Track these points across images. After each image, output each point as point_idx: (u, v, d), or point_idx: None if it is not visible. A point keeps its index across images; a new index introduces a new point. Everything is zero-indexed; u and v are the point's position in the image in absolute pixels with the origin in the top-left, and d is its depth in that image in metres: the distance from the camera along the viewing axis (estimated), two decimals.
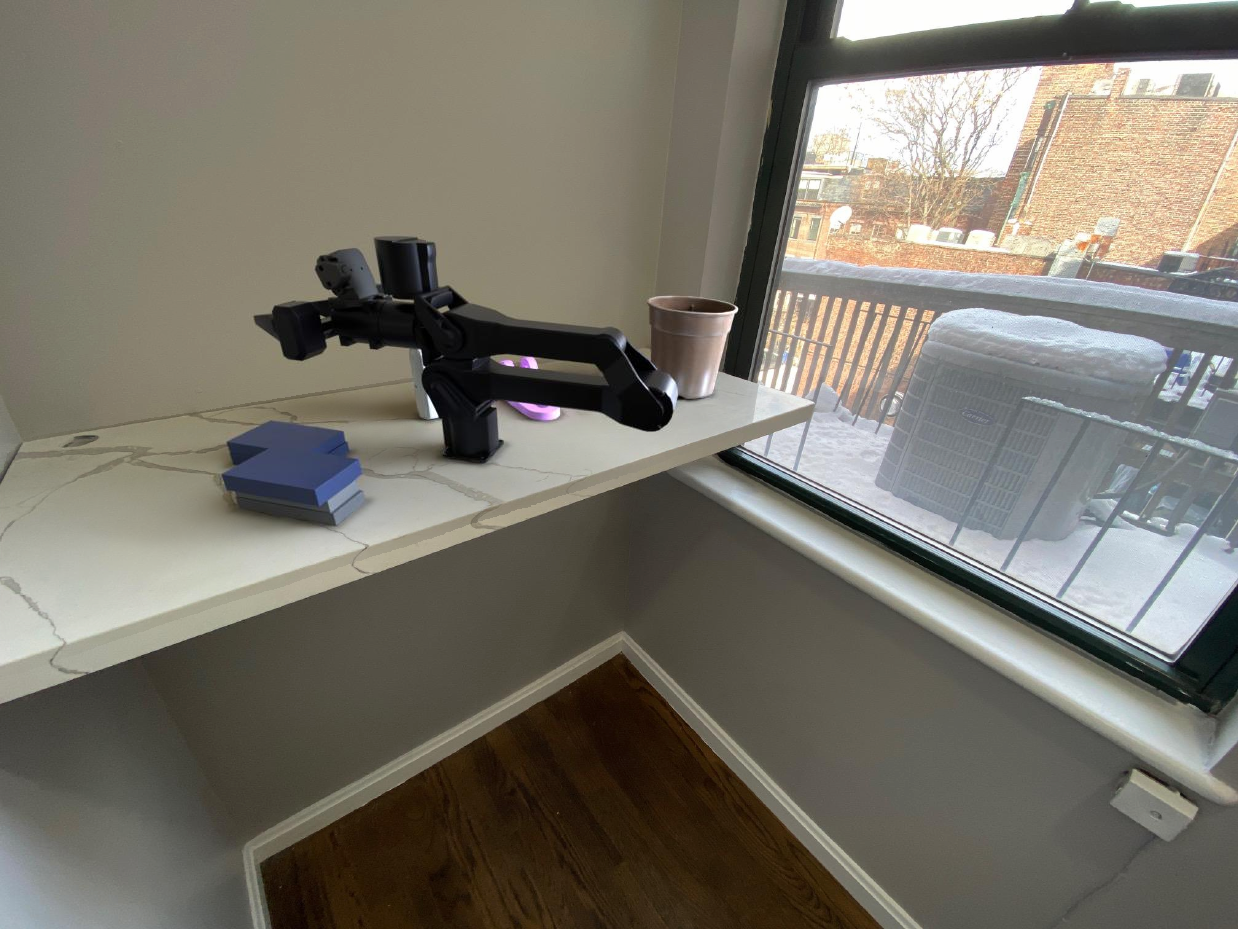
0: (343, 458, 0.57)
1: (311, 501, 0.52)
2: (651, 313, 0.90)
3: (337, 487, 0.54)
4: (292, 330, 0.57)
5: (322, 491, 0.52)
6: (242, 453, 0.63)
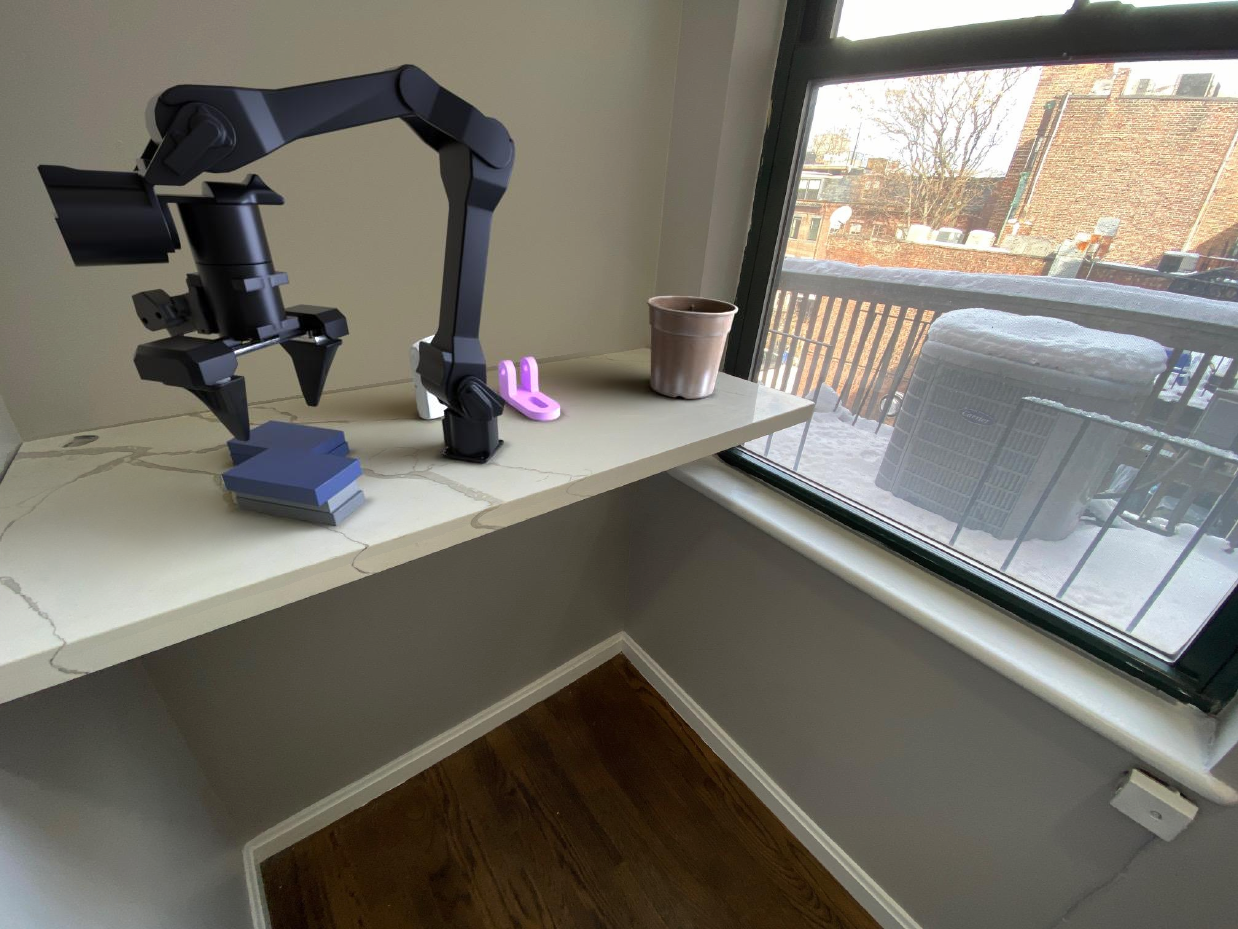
0: (343, 458, 0.57)
1: (311, 501, 0.52)
2: (651, 313, 0.90)
3: (337, 487, 0.54)
4: (151, 357, 0.40)
5: (322, 491, 0.52)
6: (242, 453, 0.63)
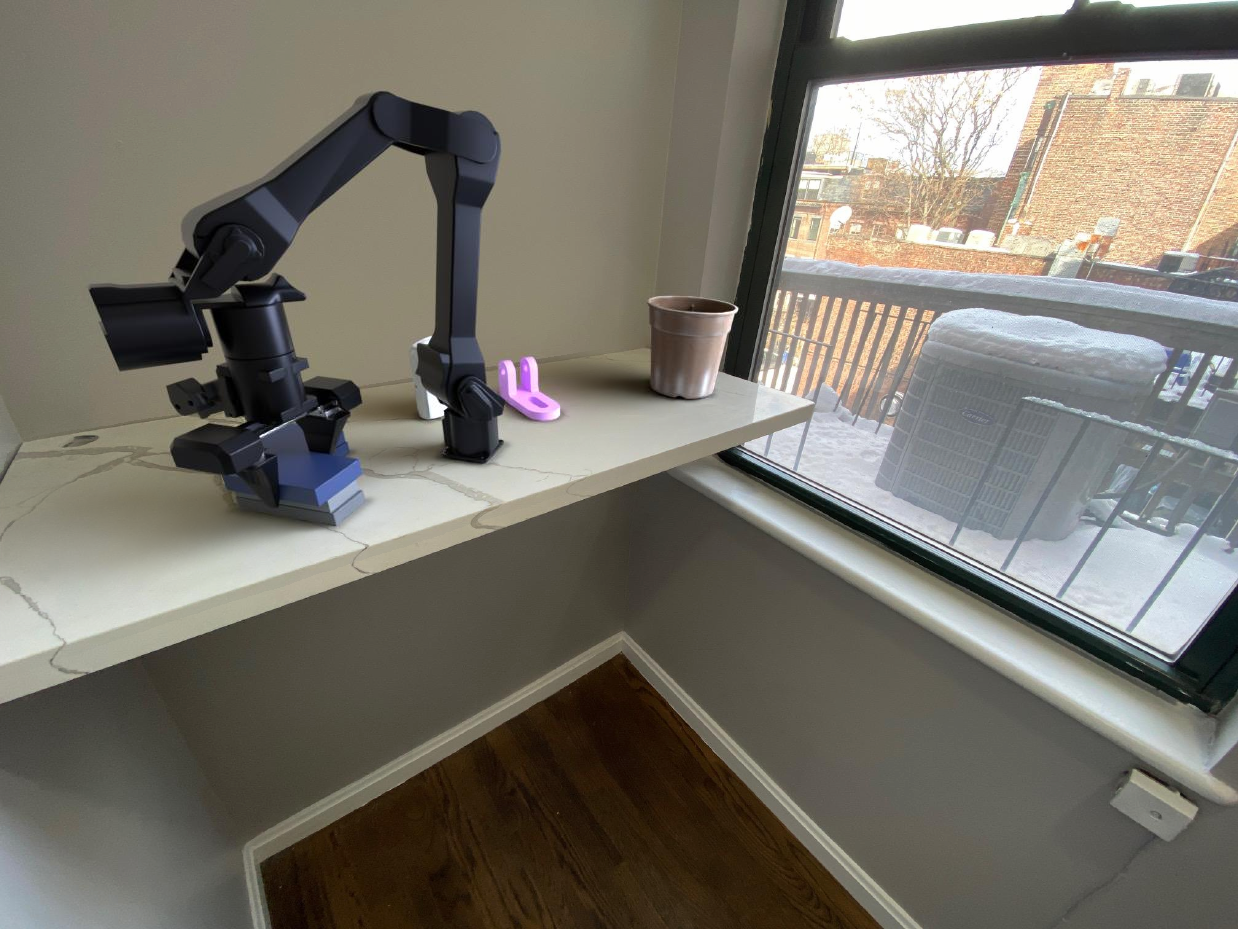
0: (343, 458, 0.57)
1: (311, 501, 0.52)
2: (651, 313, 0.90)
3: (337, 487, 0.54)
4: (187, 449, 0.44)
5: (322, 491, 0.52)
6: None
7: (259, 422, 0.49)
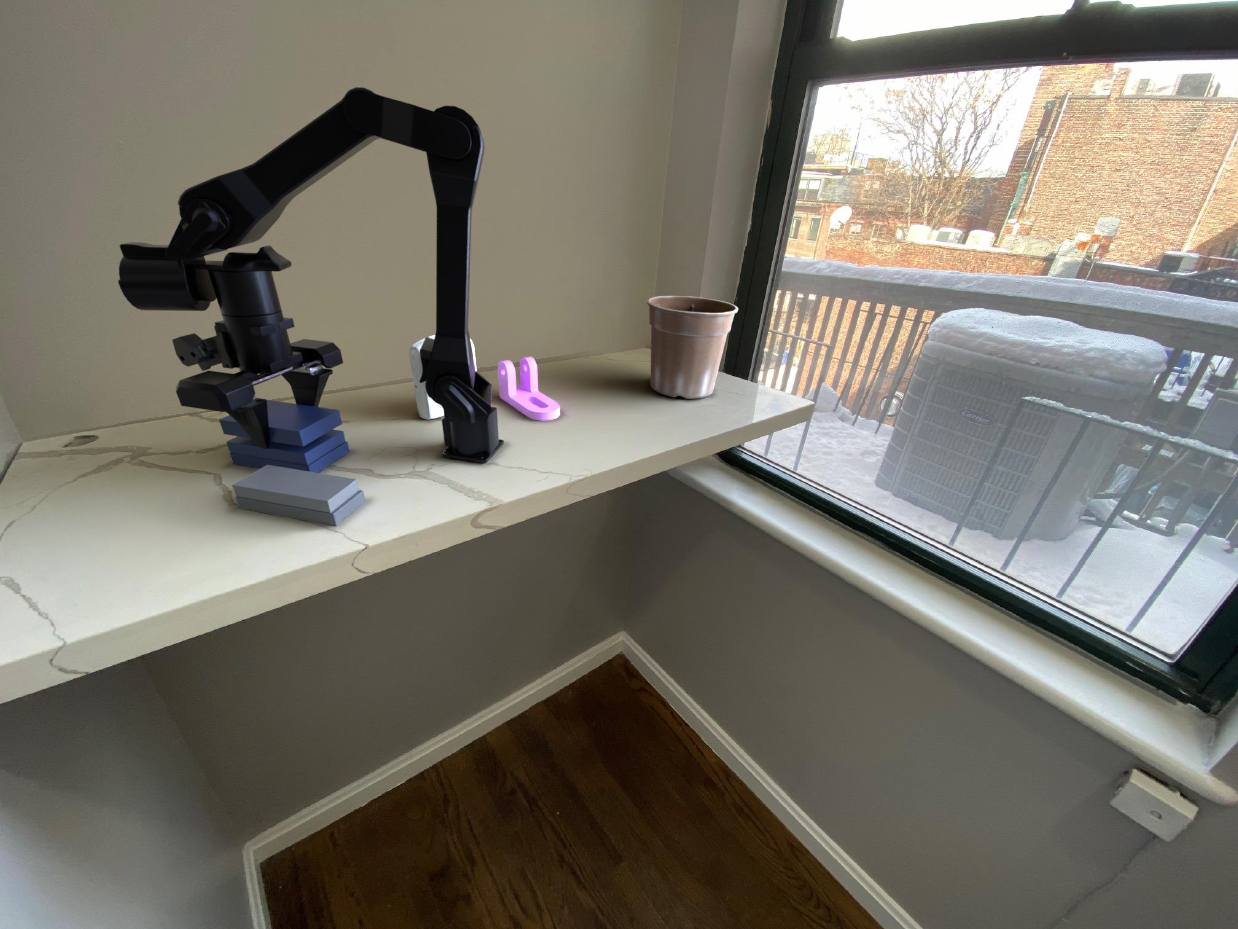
0: (325, 409, 0.66)
1: (296, 442, 0.60)
2: (651, 313, 0.90)
3: (319, 432, 0.63)
4: (190, 389, 0.52)
5: (305, 433, 0.61)
6: (242, 453, 0.63)
7: (251, 372, 0.58)
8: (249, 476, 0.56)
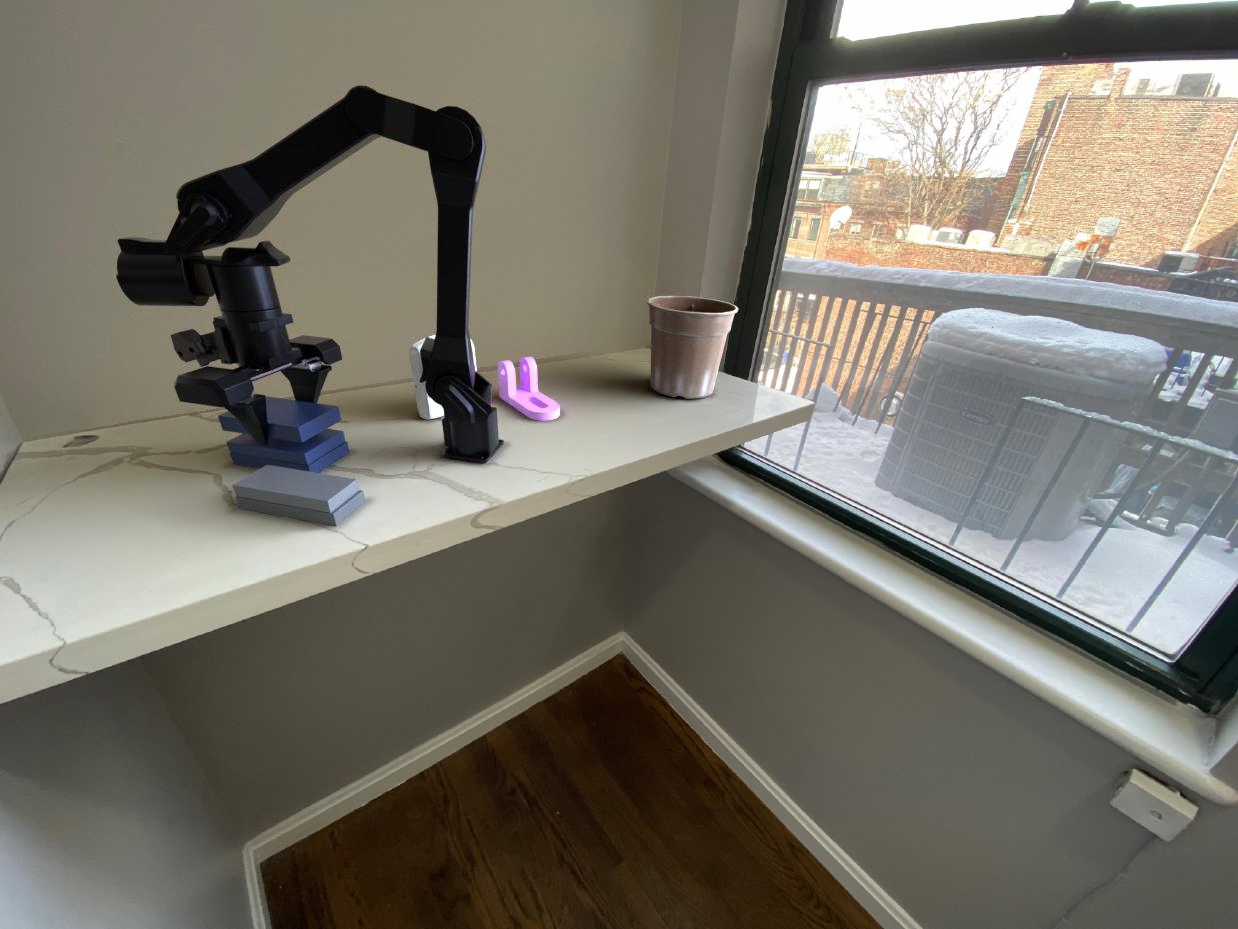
0: (324, 405, 0.65)
1: (295, 438, 0.60)
2: (651, 313, 0.90)
3: (318, 428, 0.63)
4: (188, 385, 0.52)
5: (304, 429, 0.60)
6: (242, 453, 0.63)
7: (250, 367, 0.58)
8: (249, 476, 0.56)
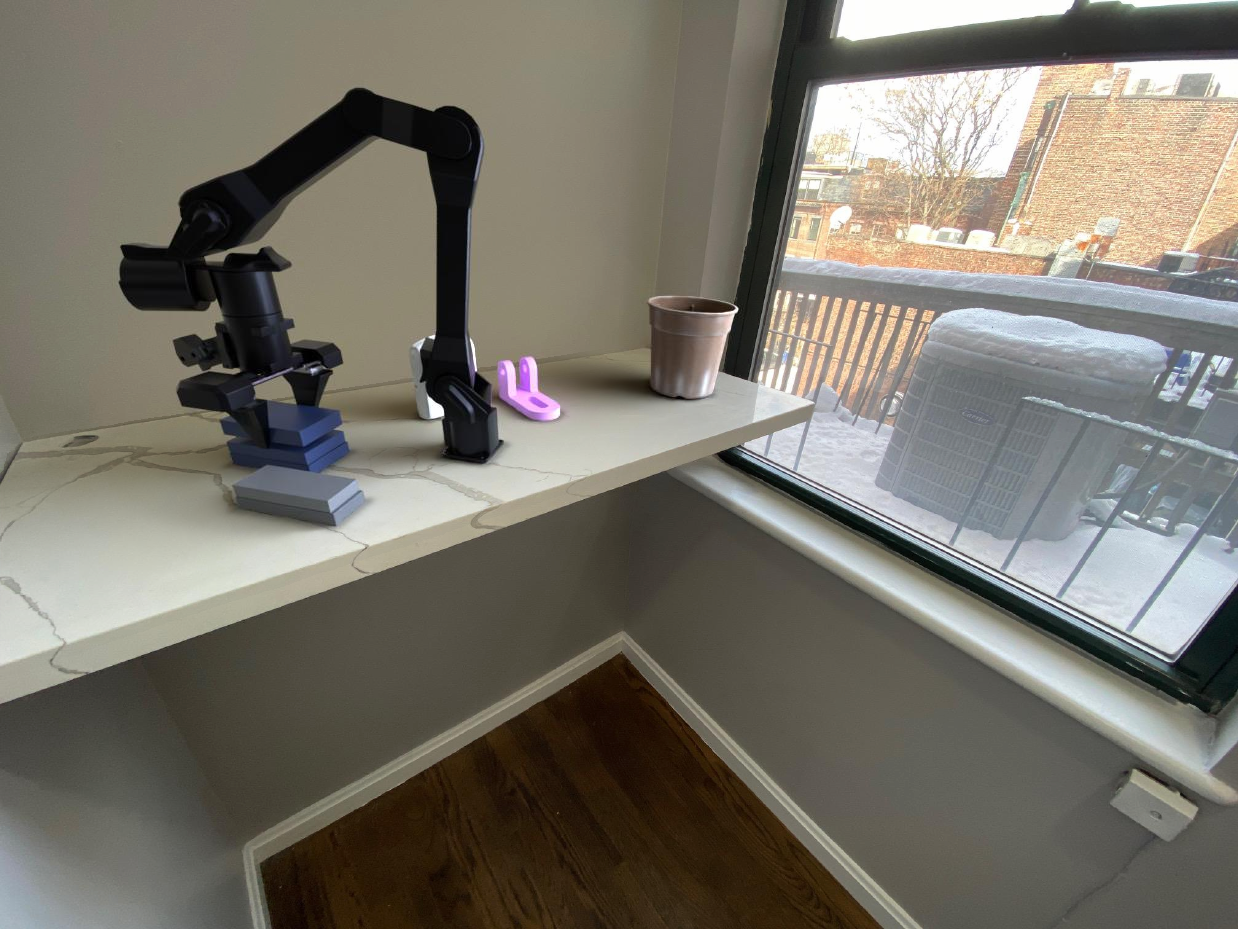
0: (325, 409, 0.66)
1: (296, 442, 0.60)
2: (651, 313, 0.90)
3: (319, 432, 0.63)
4: (190, 390, 0.53)
5: (305, 434, 0.61)
6: (242, 453, 0.63)
7: (252, 372, 0.58)
8: (249, 476, 0.56)
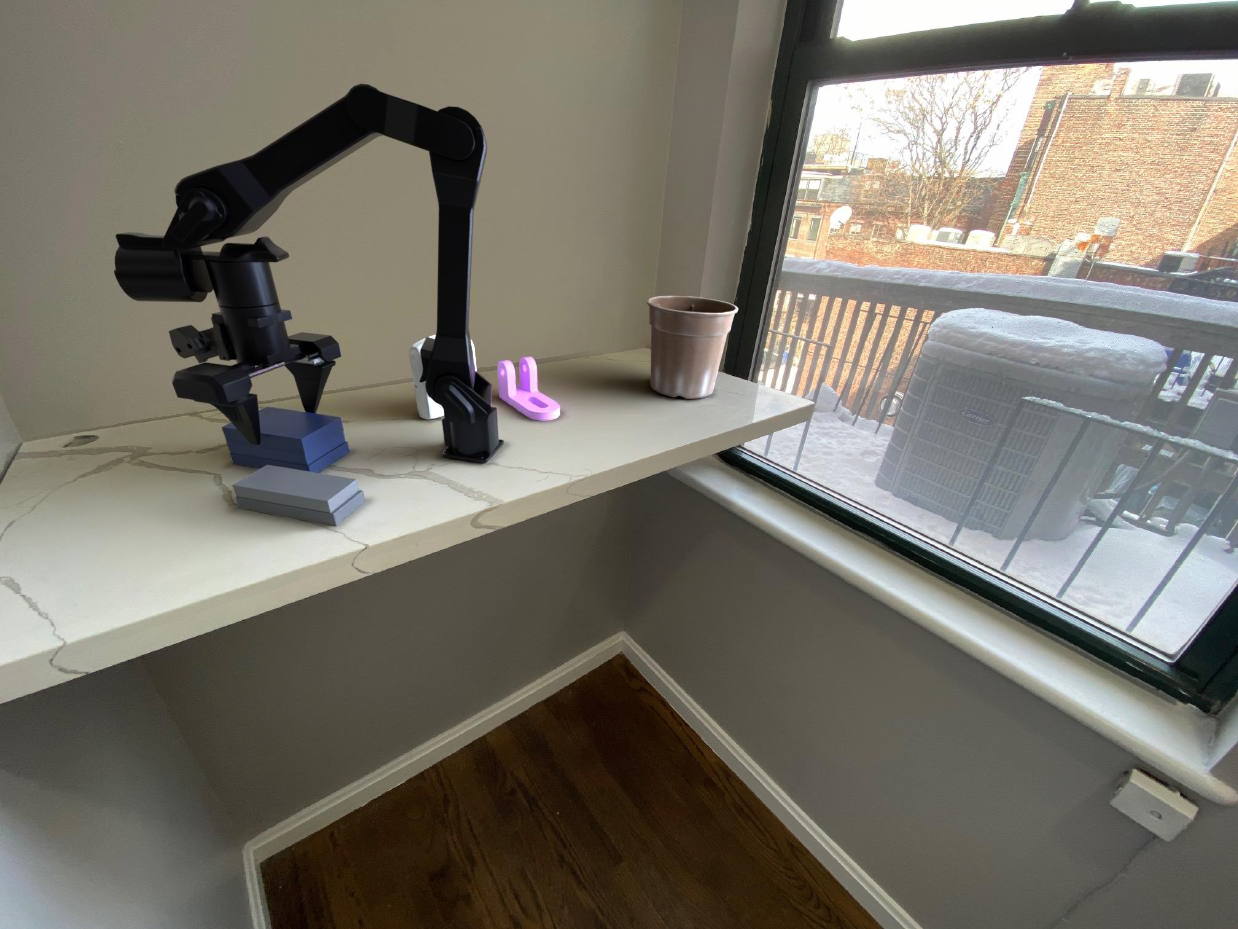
0: (327, 416, 0.66)
1: (298, 449, 0.61)
2: (651, 313, 0.90)
3: (321, 439, 0.63)
4: (186, 381, 0.52)
5: (307, 441, 0.61)
6: (242, 453, 0.63)
7: (248, 364, 0.57)
8: (249, 476, 0.56)
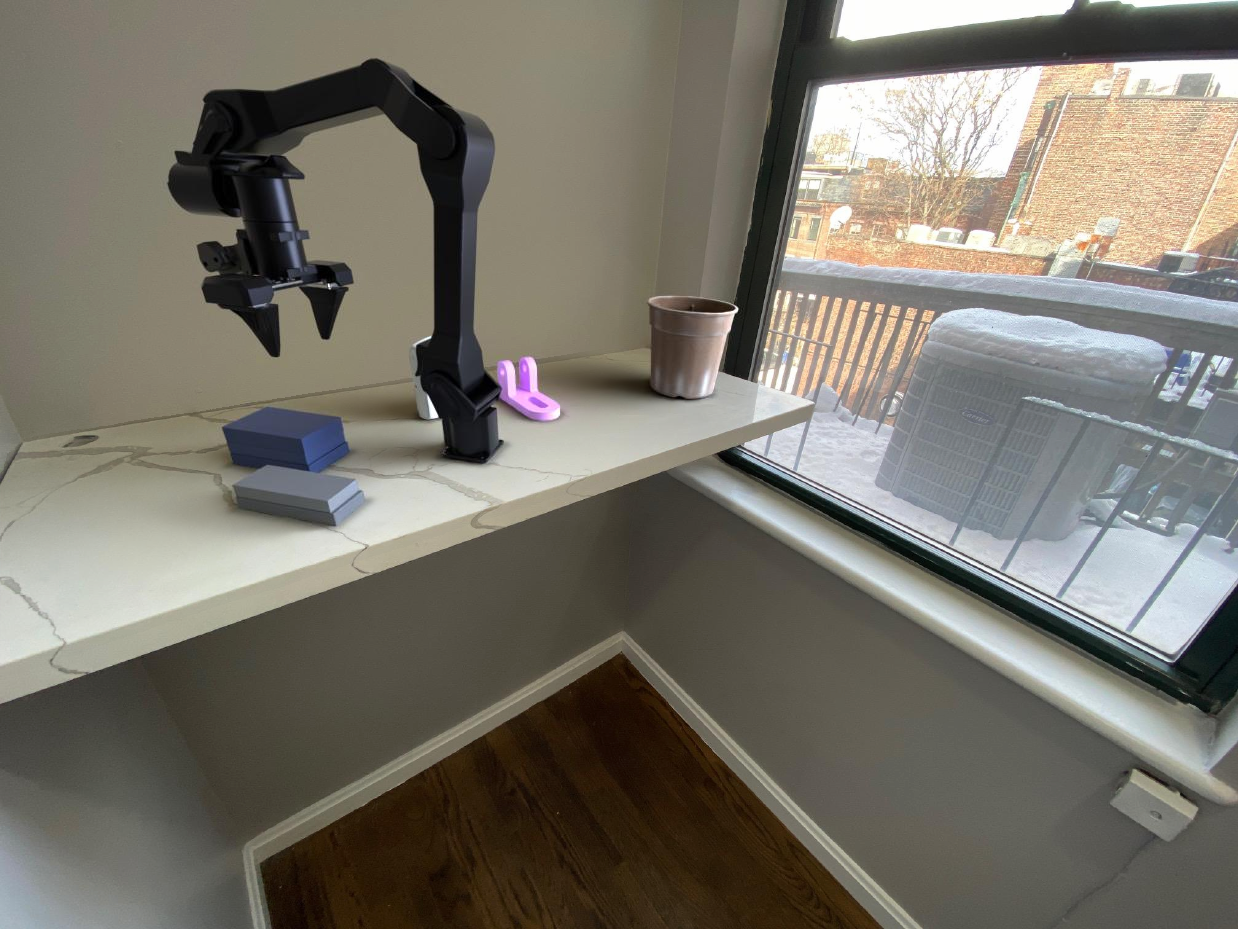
0: (327, 416, 0.66)
1: (298, 449, 0.61)
2: (651, 313, 0.90)
3: (321, 439, 0.63)
4: (215, 285, 0.57)
5: (307, 441, 0.61)
6: (242, 453, 0.63)
7: (270, 278, 0.62)
8: (249, 476, 0.56)
